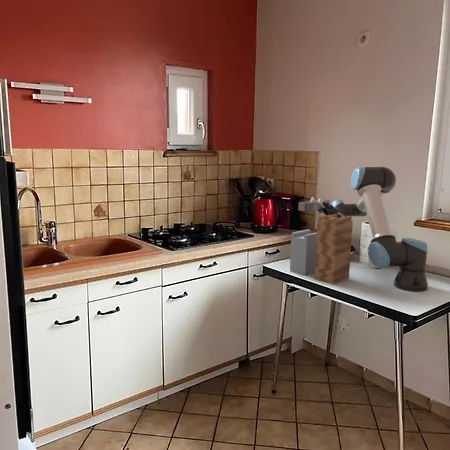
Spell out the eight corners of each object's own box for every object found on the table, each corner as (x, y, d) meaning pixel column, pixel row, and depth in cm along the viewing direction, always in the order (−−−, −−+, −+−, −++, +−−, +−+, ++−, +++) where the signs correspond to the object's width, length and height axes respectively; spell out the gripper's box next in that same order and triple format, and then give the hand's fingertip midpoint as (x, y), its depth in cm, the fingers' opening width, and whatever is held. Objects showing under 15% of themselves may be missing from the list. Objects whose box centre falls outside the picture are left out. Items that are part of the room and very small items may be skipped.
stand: (348, 278, 232) (353, 214, 226) (333, 284, 222) (337, 217, 216) (330, 274, 240) (334, 212, 234) (314, 279, 230) (317, 214, 224)
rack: (320, 270, 246) (322, 232, 242) (305, 275, 237) (306, 235, 233) (305, 266, 254) (307, 229, 250) (289, 271, 244) (291, 232, 240)
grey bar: (330, 207, 248) (330, 200, 248) (305, 211, 233) (305, 203, 233) (322, 206, 252) (322, 199, 251) (297, 210, 237) (297, 202, 236)
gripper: (346, 225, 251) (326, 208, 235) (320, 221, 263) (299, 204, 248) (351, 213, 253) (331, 195, 237) (325, 209, 265) (304, 192, 249)
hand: (315, 199), depth 242 cm, fingers closed on grey bar, 4 cm apart
